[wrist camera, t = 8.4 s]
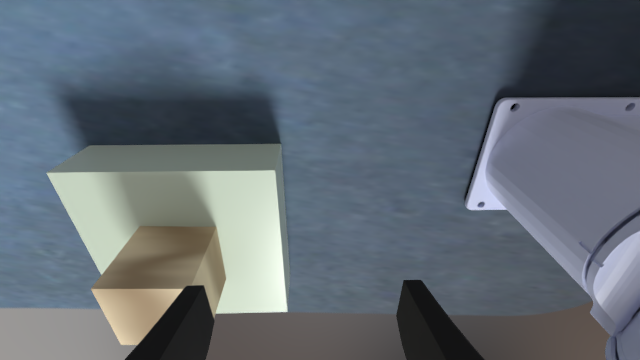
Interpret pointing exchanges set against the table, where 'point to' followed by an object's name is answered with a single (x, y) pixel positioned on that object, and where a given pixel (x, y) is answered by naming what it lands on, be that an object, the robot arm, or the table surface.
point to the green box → (187, 208)
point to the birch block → (158, 276)
